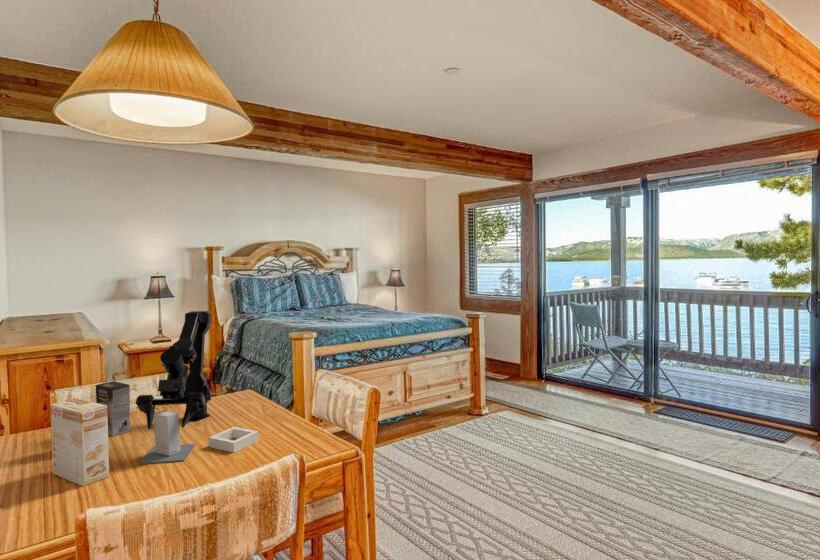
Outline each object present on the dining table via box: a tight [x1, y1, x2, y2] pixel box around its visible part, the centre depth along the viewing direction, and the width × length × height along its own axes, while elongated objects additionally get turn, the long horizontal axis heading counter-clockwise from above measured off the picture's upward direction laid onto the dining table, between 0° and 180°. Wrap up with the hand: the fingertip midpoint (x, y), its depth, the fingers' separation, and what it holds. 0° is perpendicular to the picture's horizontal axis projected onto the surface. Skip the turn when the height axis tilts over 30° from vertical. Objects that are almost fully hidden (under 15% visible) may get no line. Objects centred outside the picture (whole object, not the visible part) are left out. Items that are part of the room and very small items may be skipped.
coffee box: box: [95, 380, 131, 437], centre depth 163 cm, size 9×6×16 cm
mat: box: [138, 443, 196, 465], centre depth 145 cm, size 12×12×1 cm
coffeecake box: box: [50, 398, 111, 487], centre depth 131 cm, size 15×7×20 cm, turn 61°
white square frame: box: [208, 426, 260, 454], centre depth 153 cm, size 10×10×3 cm
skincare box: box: [153, 409, 181, 456], centre depth 145 cm, size 6×4×12 cm
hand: (165, 428), depth 143 cm, fingers open, 9 cm apart
